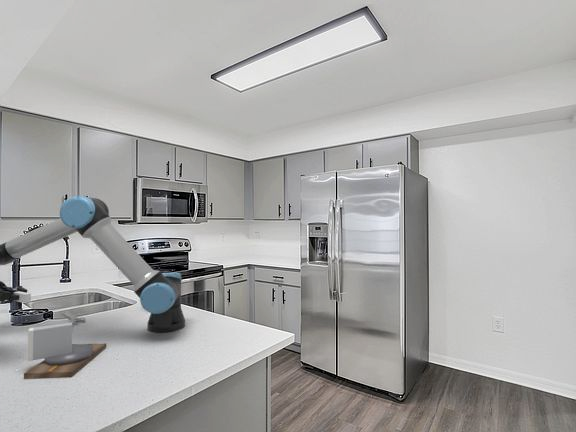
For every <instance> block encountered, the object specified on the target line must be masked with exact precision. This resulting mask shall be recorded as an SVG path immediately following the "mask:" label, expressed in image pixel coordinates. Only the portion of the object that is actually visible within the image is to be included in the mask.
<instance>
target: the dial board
mask: <svg viewBox="0 0 576 432" xmlns="http://www.w3.org/2000/svg"><path fill="white" fill-rule="evenodd" d="M76 344H77V343H74V344H73V343H72V345H76ZM86 344H87V345H91V346H93V354H92V355H91V356H90V357H88V358H87V359H85V360H82V361H79V362H76V363H72V364H67V365H48V364H46V363H45V359H44V360H42V361H41V362H39V363H38V364H36V365H35V366H33V367H31V368H30V369H28V370H27V371H25V372H24V373H23V379H24V380H27V379H28V380H29V379H51V378H52V379H55V378H56V379H58V378H73V376H75V375H76V374H77V373H78V372H80V371H81V370H82V369H83V368H84V367H86V366H87V365H88V364H89V363H90V362H91V361H92V360H94V359H95V358H97V356H98V355H100V354H101V353H102V352H103V351H105V350H106V349H107V343H86Z"/></svg>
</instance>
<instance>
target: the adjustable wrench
mask: <svg viewBox="0 0 576 432" xmlns="http://www.w3.org/2000/svg"><path fill="white" fill-rule="evenodd" d="M60 314H61V315H62V317H64V318H66V319H68V320H69V321H68V323H71V322H72V327H73V326H78V325H79V323H80V324H85V323H86V318H85V317H77V316H75V315H74V314H72V313H71V312H70V311H68V310H63V311H61V312H60Z"/></svg>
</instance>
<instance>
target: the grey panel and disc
mask: <svg viewBox="0 0 576 432" xmlns="http://www.w3.org/2000/svg"><path fill="white" fill-rule="evenodd" d="M27 337H28V338H27V362H33V361H37V360H43V359H44V360H45V363H46V364H48V365H67V364H72V363H76V362H79V361H82V360H85V359H87V358H88V357H90V356H91V355H92V354H93V346H91V345H87V344H88V343H78V344H77V343H75V344H76V345H72V344H73V326H72V322H71V323H69V322H65V323H57V324H51V325H44V326H37V327H29V328H28V332H27Z"/></svg>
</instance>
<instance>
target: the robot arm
mask: <svg viewBox="0 0 576 432" xmlns="http://www.w3.org/2000/svg"><path fill="white" fill-rule="evenodd" d="M109 211H110V210H109V207H108V205H107V204H106V203H105V202H104V201H103V200H101V199H99V198H97V197H96V198H95V197H90V196H89V197H88V196H86V195H75V196H71V197H69V198H67V199H66V200H65V201H63V203H62V204H61V205H60V208H59V217H60V218H58V219H56V220H54V221H51V222H49V223H47V224H44V225H42V226H40V227H38V228H35V229H33V230H31V231H28V232H26V233H24V234H21V235H19V236H17V237H15V238H13V239H10V240H8V241H5V242H3V243H1V244H0V266H6V265H9V264H11V263H14V262H15V261H16V260H17V259H19V258H21V257H23V256H25V255H28V254H30V253H33V252H35V251H36V250H39V249H41V248H43V247H46V246H48V245H50V244H53V243H55V242H57V241H59V240H62V239H64V238H66V237H68V236H71V235H73V234H75V233H77V232H78V234H79V235H80V236H81V237H82V238H83V239H90V240H91V241H92V243H94V244H95V245H96V246H97V248H99V250H100V251H101V252H102V253H103V254H104V255H105V256H106V257H107V258H108V259H109V260H110V262H112V263H113V265H114V266H115V267H116V268H117V269H118V270H119V271H120V272H121V273H122V274H123V275H124V277H126V278H127V279H128V280H129V282H130V283H131V284H132V285H133V292H134V293H135V294H136V296H137V297H138V298H139V301H140V305H141V306H142V308H143V309H144V311H146V312H148V313H150V315H149V318H148V321H147V327H146V329H147V331H149V332H154V333H168V332H174V331H177V330H178V331H179V330H181V329H183V328H184V327H185V326H186V318H185V316H184V313H183V309H182V280H183V279H182V274H181V273H179V272H162V271H160V270H157V269H156V270H155V269H153V268H152V266H150V265H149V263H147V262H146V261H145V260H144V259H143V258H142V256H141V255H140V254H139V253H138V252H137V251H136V250H135V248H133V246H131V244H130V243H129V242H128V241H127V240H126V239H125V238H124V237H123V236H122V235H121V233H119V231H118V230H117V229H116V228H115V227H114V226H113V225H112V218H111V216H110V212H109ZM31 296H32V294H31V293H29V292H28V289H27V288H24V286H22V285H18V286H16V287H15V288H14V287H12V286H7V285H6V284H5V283H4V282H3V281H1V280H0V303H4V302H5V301H7V303H8V304H12V303H14V302H17V303H18V302H19V303H21V304H22V303H23V304H27V303H31V300H32V297H31Z"/></svg>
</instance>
